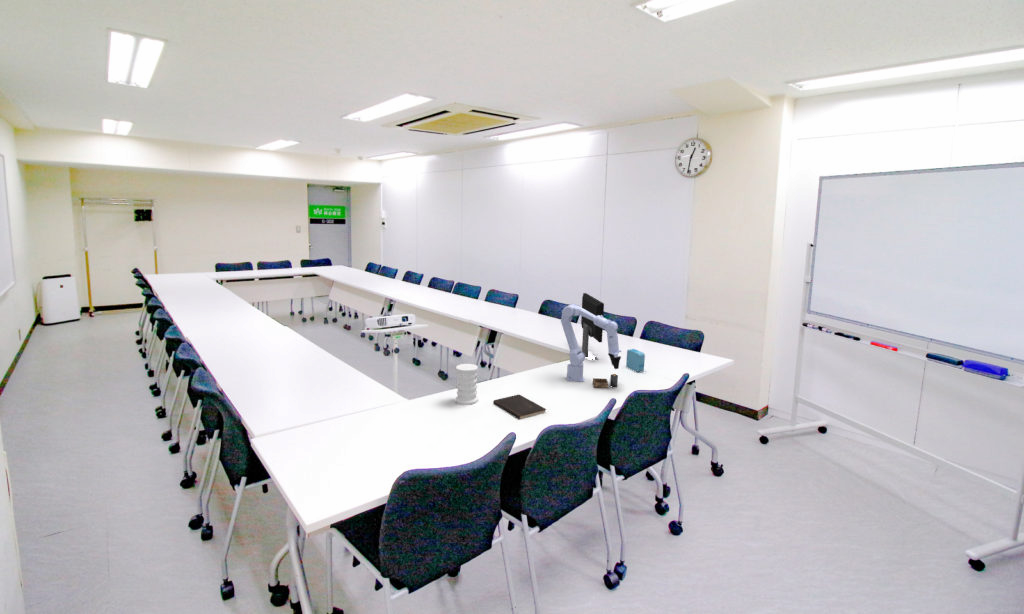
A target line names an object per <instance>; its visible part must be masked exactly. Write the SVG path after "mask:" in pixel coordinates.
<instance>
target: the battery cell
mask: <svg viewBox="0 0 1024 614" xmlns="http://www.w3.org/2000/svg"><path fill="white" fill-rule="evenodd" d="M618 379H619V375H618V374H616V373H613V374H612V373H611V374H610V381H609V387H610V386H612V387H611V388H613V387H616V388H618V384H619V382H618Z"/></svg>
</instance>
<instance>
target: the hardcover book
mask: <svg viewBox="0 0 1024 614" xmlns="http://www.w3.org/2000/svg"><path fill="white" fill-rule="evenodd" d="M492 404H493V405H495V406H497V407H498V408H499V409H501V410H502V411H504V410H505V411H504V412H506V413H508V414H509V415H511V416H512V417H514V416H515V417H514V418H516V419H517V420H522V418H523V419H526V418H529V416H530V417H533V415H534V416H537V415H541V414H544V412H545V413H546V410H547V409H546V408H545V407H543V406H541V405H539V404H537V403H536V402H534V401H532V400H530V399H529V398H527V397H525V396H523V395H522V394H514V395H511V396H506V397H502V398H499V399H498V398H497V399H494V400H493V401H492ZM540 413H541V414H540ZM536 414H537V415H536ZM525 417H526V418H525Z"/></svg>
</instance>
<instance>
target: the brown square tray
mask: <svg viewBox="0 0 1024 614" xmlns="http://www.w3.org/2000/svg"><path fill="white" fill-rule="evenodd" d="M592 385H594V386H593V388H594V389H609V382H608V379H607V378H594V377H593V378H592Z"/></svg>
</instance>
